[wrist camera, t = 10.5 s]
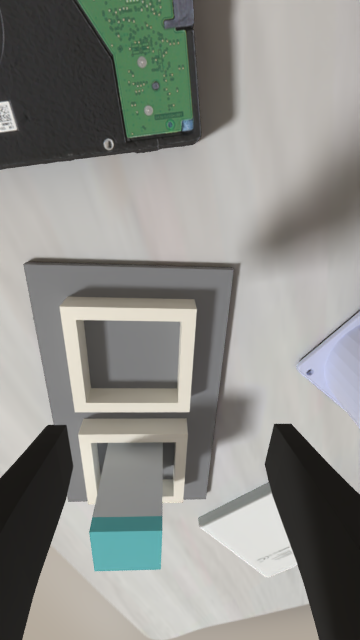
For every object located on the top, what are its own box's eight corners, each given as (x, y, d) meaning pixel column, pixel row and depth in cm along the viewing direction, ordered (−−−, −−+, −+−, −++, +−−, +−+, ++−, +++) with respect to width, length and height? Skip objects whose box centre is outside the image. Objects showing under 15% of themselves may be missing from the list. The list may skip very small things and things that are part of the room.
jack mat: (205, 493, 27) (205, 499, 27) (69, 496, 27) (68, 501, 26) (232, 267, 18) (233, 269, 18) (26, 262, 17) (23, 264, 17)
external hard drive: (269, 474, 27) (327, 535, 32) (197, 511, 29) (261, 563, 34) (275, 491, 26) (335, 552, 31) (198, 529, 28) (265, 581, 32)
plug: (161, 469, 25) (160, 569, 19) (112, 469, 25) (94, 571, 18) (162, 433, 23) (162, 530, 17) (110, 433, 23) (89, 532, 17)
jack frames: (182, 485, 26) (183, 502, 24) (92, 486, 25) (88, 504, 24) (194, 299, 18) (196, 309, 17) (67, 296, 18) (59, 306, 17)
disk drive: (-76, 185, 16) (200, 145, 16) (-121, 187, 14) (206, 139, 13) (-211, -108, 12) (172, -176, 11) (-317, -187, 9) (172, -279, 9)
